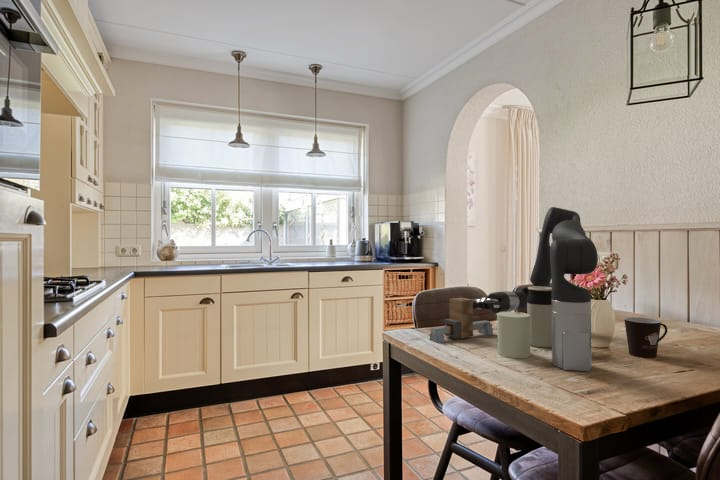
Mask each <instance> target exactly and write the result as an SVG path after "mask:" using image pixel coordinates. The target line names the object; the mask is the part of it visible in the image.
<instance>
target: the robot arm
mask: <svg viewBox="0 0 720 480" xmlns="http://www.w3.org/2000/svg"><path fill="white" fill-rule="evenodd" d="M539 237H540V238H539V243H538V248H537V254H536V258H535V262H534V266H533V268H532V271H531V274H530V278H529V281H530V283H531V284H532V286H533V287H534V286H539V287H551V288H552V347H551V363H552V365H553V366H554V367H557V368H560V369H562V370H565V371H579V372H580V371H581V372H582V371H583V372H591V369H592V367H593V365H592V364H593V363H592V354H593V353H592V293H591V291H590V289H587V288H586V287H582V286H579V285H577V284H574V283H572V282H570V281H569V280H568V279H566V278H565V275H588V274H591V273H593V272H594V271H595V270H596V268H597V266H598V263H599V261H598V260H599V255H598V250H597V247H596V245H595V243H594V242H593V240H591V238H589V237H588V236H587V234H586V231H585V230H584V228H583V227H582V223H581V217H580V214H579V213H578V212H576V211H573V210H570V209H565V208H560V207H555V206H551V207H550V208H548V210H547V212H546V214H545V216H544V220H543V224H542V228H541V232H540V236H539ZM550 237H551V239H552V242H551V243H550ZM528 287H530V286H529V285H528V286H524V287H521V288H520V289H518V290H513V291H509V290H508V291H507V290H506V291H505V290H504V291H495V292H494V291H493V292H490V293H489V294H488V295H487V297H481V298H476V297H472V300H473V310H475V309H476V310H483V311H487V310H488V311H490V312H491V313H493V314H497V313H499V312H515V311H520V310H524V309H527V297H528V295H529V289H528Z"/></svg>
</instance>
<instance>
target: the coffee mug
mask: <svg viewBox="0 0 720 480" xmlns="http://www.w3.org/2000/svg"><path fill="white" fill-rule="evenodd" d="M623 321H624V326H625V327H624V328H625V333H626V340H627V348H628V354H629V355H630V356H632V357H636V358H640V359H641V358H642V359H656V358H657V357H658V356H657V355H658V349H659V342H661V341H662V340H664V338H665V337H666V336H667V334H668V326H667V325H666V324H665V323H664V324H663V323H662V321H661V320H659V319H653V318H648V317H639V316H638V317H637V316H636V317H635V316H629V317H628V316H627V317H624V318H623ZM661 326H662V327H663V328H664V333H663V334H662V335H661V336H660V333H661Z"/></svg>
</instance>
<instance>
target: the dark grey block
mask: <svg viewBox="0 0 720 480" xmlns="http://www.w3.org/2000/svg"><path fill="white" fill-rule="evenodd" d="M446 325H453V334H444V337H445V336H446V337H448V338H452V339H455V340H457V339H462V338H461V321H457V320H453V319H450V318H446V319H444V326H446Z"/></svg>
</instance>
